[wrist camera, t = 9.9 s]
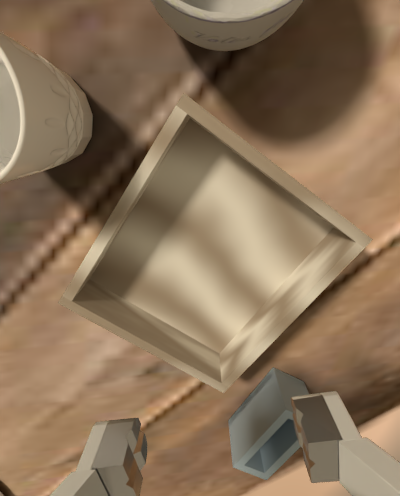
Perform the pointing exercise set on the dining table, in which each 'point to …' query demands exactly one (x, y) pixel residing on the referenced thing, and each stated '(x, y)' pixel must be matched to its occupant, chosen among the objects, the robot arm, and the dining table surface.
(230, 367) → the beige shallow tray
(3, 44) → the white cup
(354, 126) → the dining table surface
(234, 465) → the box
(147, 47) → the dining table surface
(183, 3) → the teacup
